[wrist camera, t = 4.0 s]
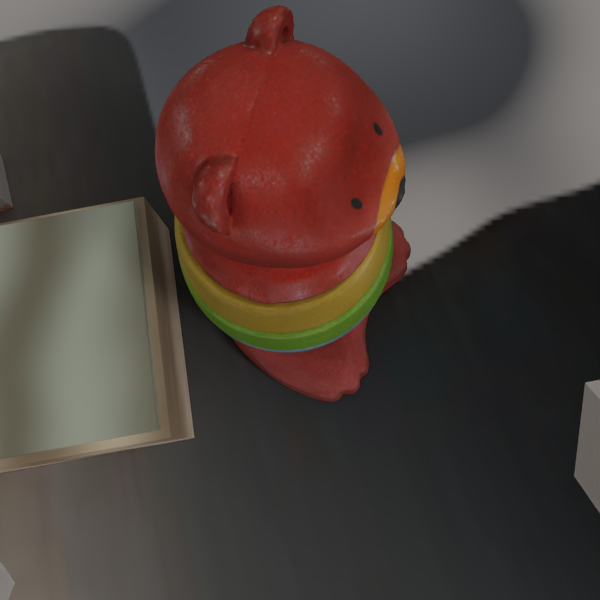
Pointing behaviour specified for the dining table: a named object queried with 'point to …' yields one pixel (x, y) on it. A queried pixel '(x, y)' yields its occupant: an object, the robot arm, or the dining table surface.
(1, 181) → the white printed cardboard box
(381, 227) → the stacking bear
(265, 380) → the dining table surface
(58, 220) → the base block
